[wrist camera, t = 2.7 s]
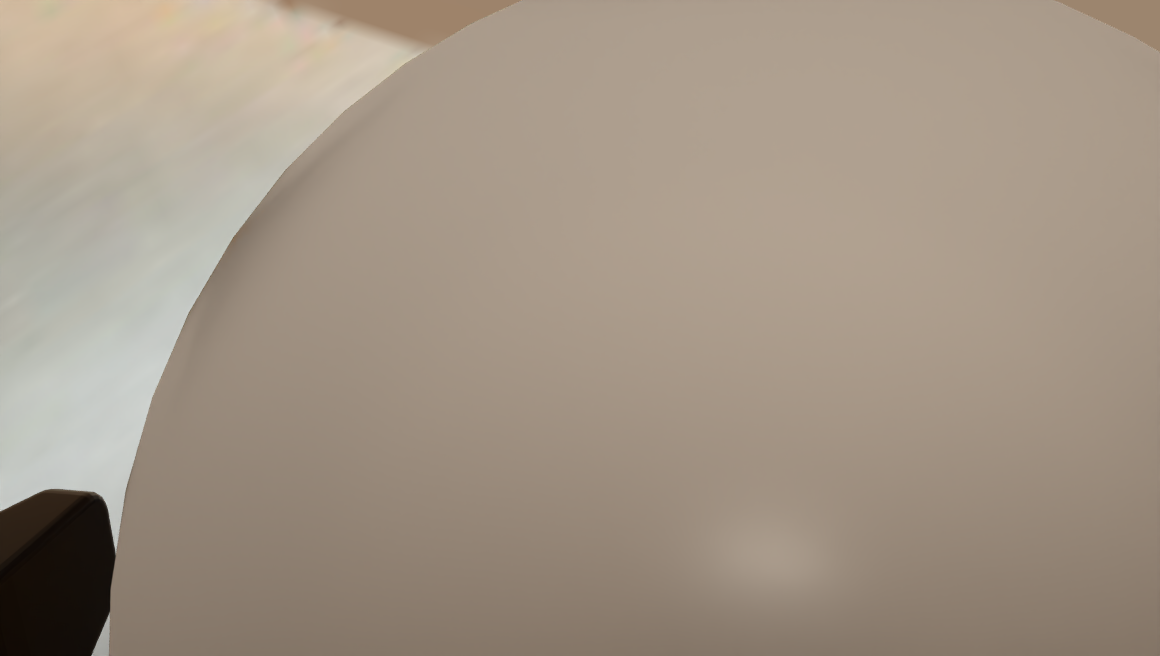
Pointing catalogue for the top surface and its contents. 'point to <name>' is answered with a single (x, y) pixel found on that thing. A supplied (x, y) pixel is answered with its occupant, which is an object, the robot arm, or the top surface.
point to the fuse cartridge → (682, 350)
